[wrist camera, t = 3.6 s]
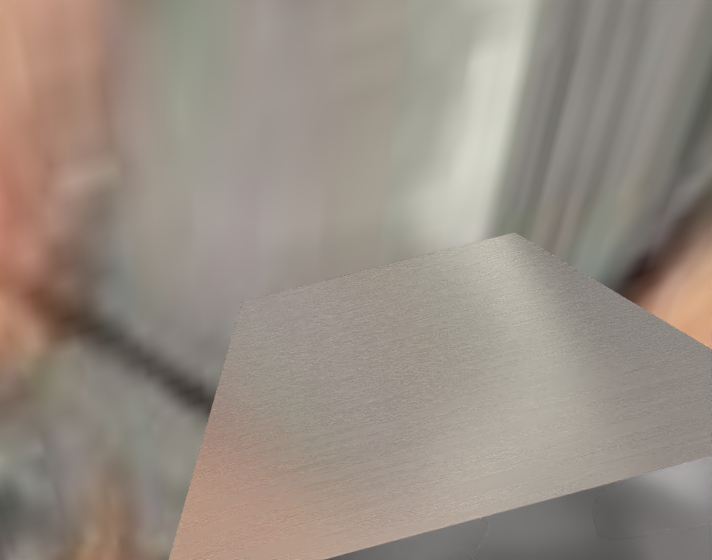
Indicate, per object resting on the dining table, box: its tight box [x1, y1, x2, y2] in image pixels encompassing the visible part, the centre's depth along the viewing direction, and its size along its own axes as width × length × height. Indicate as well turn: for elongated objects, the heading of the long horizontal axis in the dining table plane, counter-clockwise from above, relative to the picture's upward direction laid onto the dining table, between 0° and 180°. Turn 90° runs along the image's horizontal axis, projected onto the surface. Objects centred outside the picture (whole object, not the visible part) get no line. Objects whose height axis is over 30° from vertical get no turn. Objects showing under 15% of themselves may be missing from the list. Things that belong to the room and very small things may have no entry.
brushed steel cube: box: [169, 233, 712, 560], centre depth 8 cm, size 6×6×7 cm
